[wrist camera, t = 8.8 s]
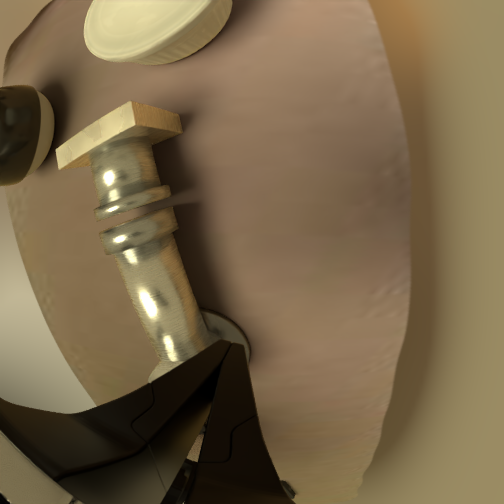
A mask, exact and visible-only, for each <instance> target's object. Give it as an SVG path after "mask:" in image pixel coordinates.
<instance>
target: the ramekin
mask: <svg viewBox="0 0 504 504" xmlns="http://www.w3.org/2000/svg"><path fill="white" fill-rule="evenodd" d="M231 7H232V0H93V2H92V4H91V6H90V8H89V10H88V13H87V16H86V19H85V24H84V39H85V43H86V45H87V47H88V49H89V50H90V52H91V53H93V54H94V55H95V56H97V57H99V58H101V59H104V60H107V61H111V62H132V63H138V64H144V65H160V64H167V63H171V62H174V61H177V60H180V59H182V58H184V57H187V56H189V55H191V54H192V53H194V52H196V51H197V50H199V49H200V48H202V47H204V46H205V45H206V44H207V43H208V42H210V41H211V40H212V39H213V38H214V37H215V36H216V35H217V34H218V33H219V32H220V31H221V29H222V28H223V26H224V25H225V23H226V21H227V20H228V18H229V15H230V12H231Z"/></svg>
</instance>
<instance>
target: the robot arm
mask: <svg viewBox="0 0 504 504" xmlns="http://www.w3.org/2000/svg"><path fill="white" fill-rule="evenodd" d="M208 415H209V417H208ZM207 417H208V421H207V425H205V421H206V419H207ZM199 434H204V438H203V442H202V446H201V450H200V454H199V459H198V462H195V461H191V460H189V459H187V456H188V453H189V451H190V449H191V448H192V446H193V444H194V442H195V440H196V438H197V436H198V435H199ZM184 501H185V502H184ZM183 503H184V504H296V503H295V502H294V501H293V500H292V499H291V498H290V497H289V496H288V494H287V492H286V491H285V489H284V487H283V485H282V483H281V481H280V479H279V476H278V474H277V472H276V469H275V467H274V465H273V462H272V460H271V457H270V455H269V452H268V450H267V447H266V444H265V441H264V438H263V435H262V431H261V427H260V422H259V417H258V413H257V408H256V403H255V398H254V393H253V388H252V383H251V378H250V372H249V367H248V362H247V356H246V351H245V346H244V345H243V344H240V343H236V342H233V343H232V342H231V341H228V340H225V339H219V340H218V341H216V342H215V343H213V344H212V345H210V346H208V347H207V348H205V349H204V350H202V351H201V352H199V353H197V354H196V355H194V356H193V357H191V358H189V359H188V360H186V361H185V362H183V363H181V364H180V365H178V366H176V367H175V368H173V369H171V370H170V371H168V372H166V373H165V374H163V375H161V376H160V377H158V378H156V379H155V380H153V381H151V383H148V384H146V385H144V386H142V387H141V388H139V389H137V390H135V391H133V392H131V393H129V394H127V395H125V396H122V397H120V398H118V399H115V400H113V401H110V402H108V403H105V404H102V405H100V406H97V407H94V408H92V409H89V410H86V411H83V412H79V413H73V414H63V413H56V412H50V411H44V410H39V409H34V408H29V407H24V406H20V405H16V404H12V403H10V402H8V401H5V400H3V399H2V398H0V504H183Z"/></svg>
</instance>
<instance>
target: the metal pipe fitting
mask: <svg viewBox="0 0 504 504" xmlns="http://www.w3.org/2000/svg"><path fill="white" fill-rule="evenodd" d="M181 133H183V131H182V127H181V122H180V118H179V114H176V113H173V112H169V111H166V110H163V109H159V108H156V107H152V106H149V105H145V104H141V103H138V102H134V101H130V102H128V103H126V104H124V105H122V106H121V107H119V108H117V109H115V110H114V111H112V112H110V113H109V114H107V115H105V116H104V117H102V118H100V119H99V120H97V121H96V122H94V123H93V124H91V125H89V126H88V127H86V128H85V129H83V130H82V131H81V132H79V133H78V134H76V135H75V136H73V137H72V138H71V139H69V140H68V141H66V142H65V143H64V144H62V145H61V146H60V147H58V148H57V149H56V156H57V161H58V167H59V170H62V169H69V168H77V167H85V166H90V167H91V172H92V176H93V180H94V185H95V189H96V193H97V197H98V200H99V204H100V207H98V208H96V209H94V213H95V217H96V220H97V222H98V221H101V220H103V219H106V218H109V217H112V216H115V215H117V214H120V213H123V212H126V211H129V210H132V209H135V208H138V207H141V206H144V205H147V204H150V203H153V202H156V201H159V200H162V199H165V198H168V197H171V192H170V188H169V185H163V186H161V183H160V180H159V176H158V172H157V168H156V164H155V160H154V156H153V151H152V147H151V145H154V144H156V143H158V142H161V141H163V140H166V139H168V138H171V137H173V136H176V135H178V134H181ZM199 310H200V313H201V316H202V318H203V321H204V323H205V326H206V329H207V330H209V331H211V332H213V333H215V334H217V335H218V336H220V337H221V338H222V339H225V340H228V341H231V342H232V343H233V342H236V343H240V344H243V345H244V346H245V351H246V356H247V362H249V359H250V345H249V342H248V340H247V338H246V336H245V334H244V333H243V331H242V330H241V329H240V328H239V327H238V326H237V325H236V324H235V323H234V322H233V321H232V320H230V319H229V318H227V317H226V316H224V315H222V314H220V313H217V312H215V311H212V310H208V309H203V308H199Z"/></svg>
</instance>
